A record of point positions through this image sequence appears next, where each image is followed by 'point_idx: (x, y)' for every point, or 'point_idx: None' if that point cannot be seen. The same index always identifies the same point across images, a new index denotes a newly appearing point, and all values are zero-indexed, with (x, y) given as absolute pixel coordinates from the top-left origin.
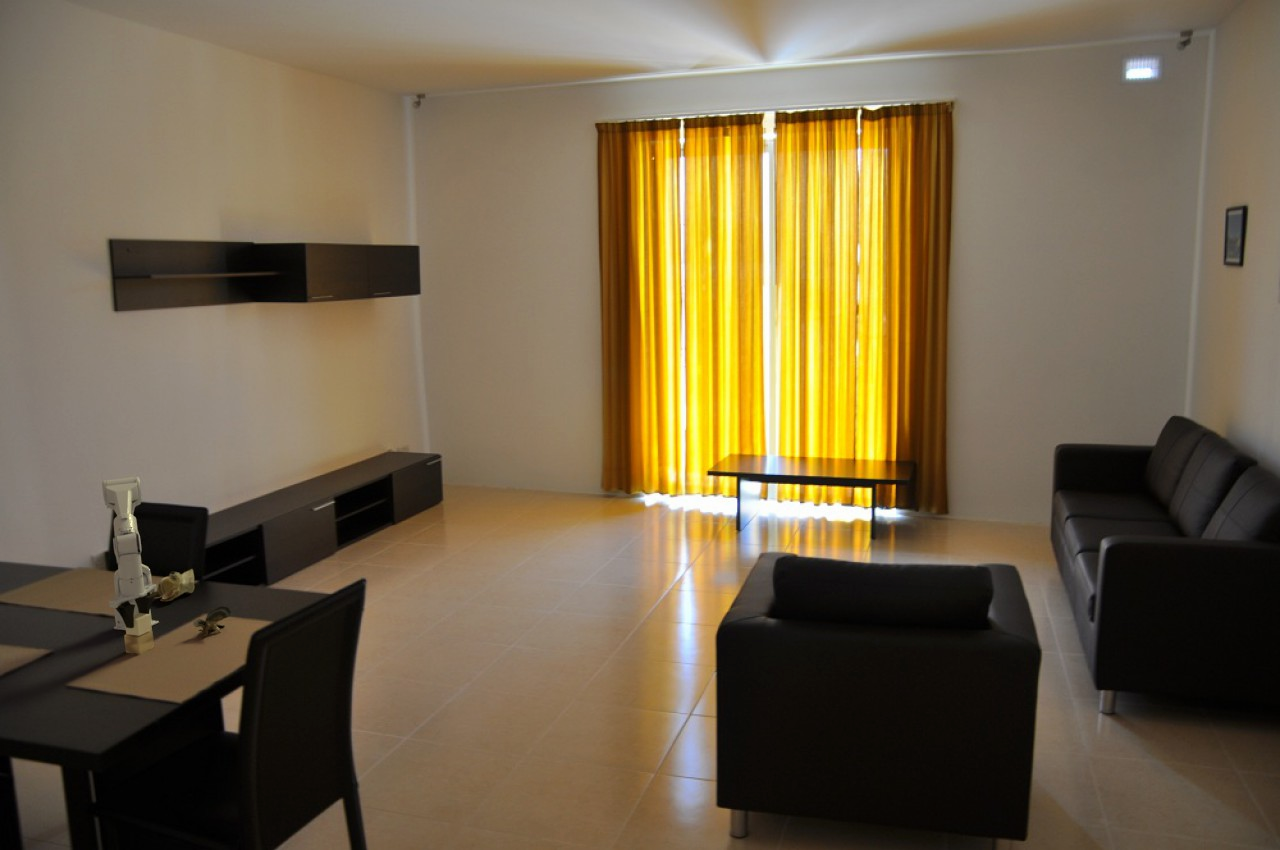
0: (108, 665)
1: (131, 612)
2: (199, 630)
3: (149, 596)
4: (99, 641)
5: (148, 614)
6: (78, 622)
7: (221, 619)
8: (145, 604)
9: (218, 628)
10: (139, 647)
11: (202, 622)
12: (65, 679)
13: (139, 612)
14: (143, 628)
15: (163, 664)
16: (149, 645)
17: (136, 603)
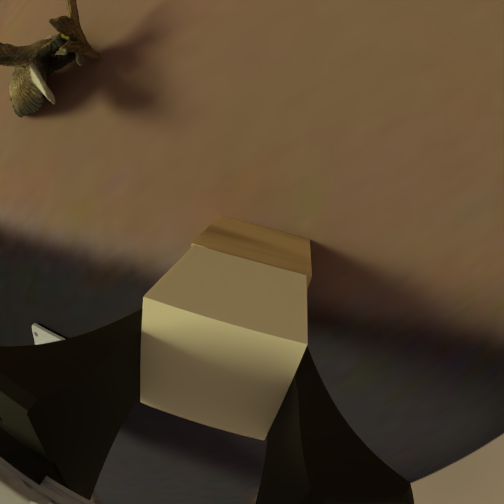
0: (423, 310)
1: (333, 439)
2: (82, 61)
3: (4, 410)
4: (192, 430)
5: (148, 310)
6: (112, 474)
7: (9, 44)
8: (92, 393)
9: (48, 36)
10: (309, 251)
11: (39, 67)
12: (498, 369)
13: (137, 392)
14: (258, 278)
15: (423, 58)
16: (243, 229)
17: (105, 455)
